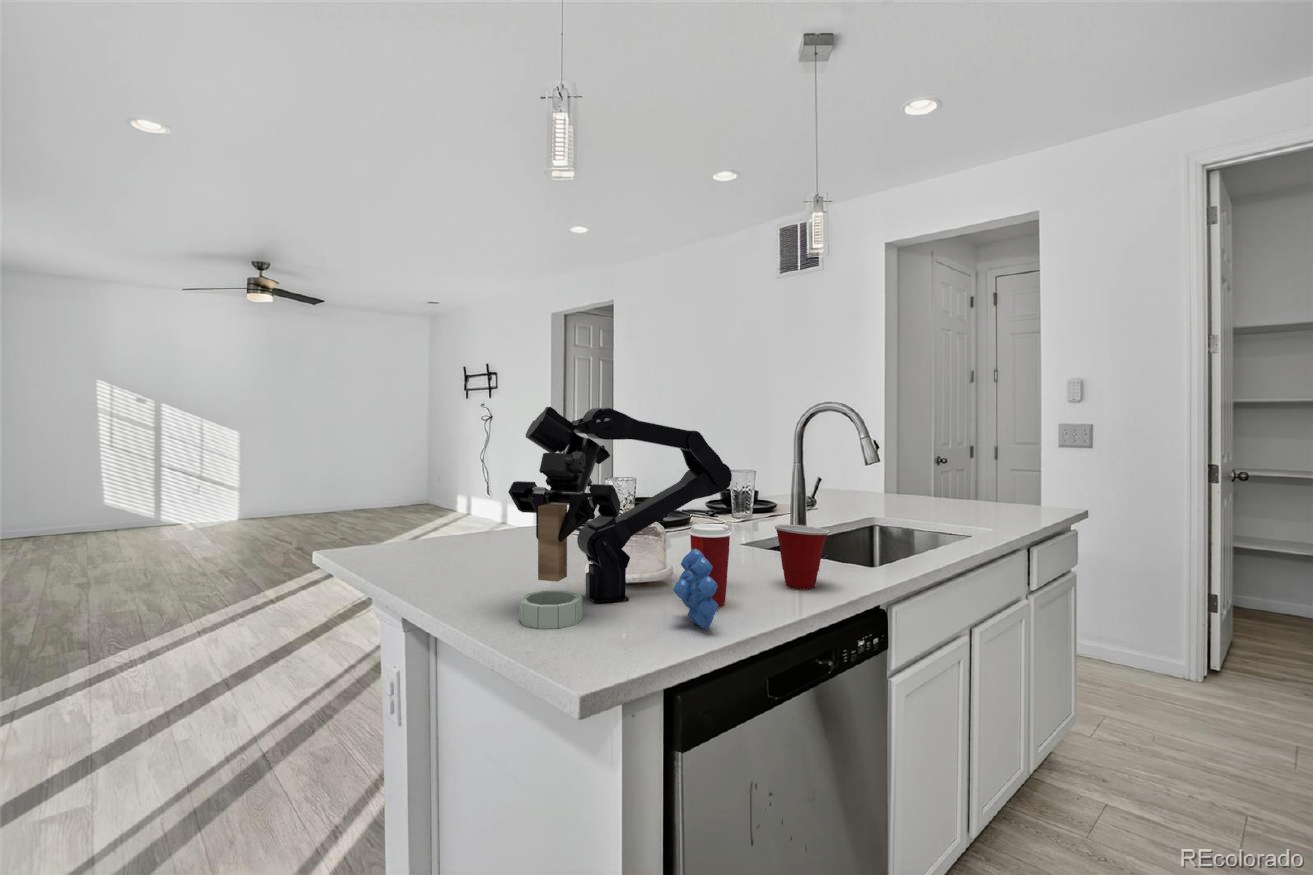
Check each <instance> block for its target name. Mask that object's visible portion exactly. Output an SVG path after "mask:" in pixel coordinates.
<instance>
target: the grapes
mask: <svg viewBox="0 0 1313 875" xmlns="http://www.w3.org/2000/svg"><path fill="white" fill-rule="evenodd" d="M680 566H681V567H682V568H683V570H684V571H682V573H681V574H680V576H679V579H678V581H676V583H675V585H674V586H673V588H672V591H673V592H674V594H676V596H677V597H678V598H679V599H681V601H682V604H684V605H685V607H687V608H688V613H687V617H688V618H689V620H691V622H692V623H693V624H695V625H698V626H699V627H701V628H702V629H708V628H710V627H711V625H712V623H713V620H714V619H715V615H716V613H717V612H718V609H719V608H718V604H717V603H716V602H715V601H714V599H713V598H711V597H712V596H713V595H714V594H715V592H716V590H717V587H718V585H717V583H716V582H715V581H714V580H713V579H712V578H711V577H709V576H708V575H709V574H710V572H711V570H712V568H713V566H712V565H711V563H710V562H709V561H708V560H707V559H706V558H705V557H704V555H703V554H702V553H701V552H700V551H699V550H698V549H692V550H691V549H690V551H689V552H688V553H687V554H686V555H685V556H684V557H683V559H682V560H681V562H680Z"/></svg>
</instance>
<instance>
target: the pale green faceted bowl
mask: <svg viewBox="0 0 1313 875" xmlns="http://www.w3.org/2000/svg"><path fill="white" fill-rule="evenodd" d="M518 602H519V605H518V606H519V607H518V608H519V610H518V612H519V614H518V615H519V616H518V618H519V621H520V623H521V625H522V626H523V627H528V628H532V629H538V630H544V629H546V630H549V629H562V628H567V627H570V626H575V625H577V624H578V623H580V622H581V621H582V620H583V597H582V596H581V595H580V594H579V593H578V592H573V591H569V590H556V589H555V590H554V589H553V590H551V589H550V590H540V591H535V592H529V593H526V594H524V595H523V596H521V597H519V601H518Z"/></svg>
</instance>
